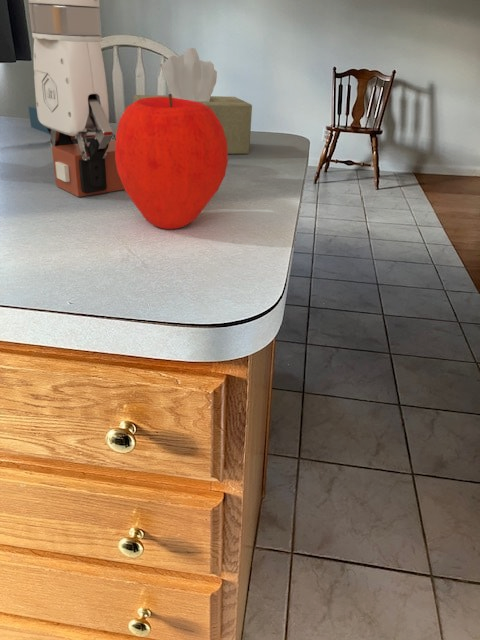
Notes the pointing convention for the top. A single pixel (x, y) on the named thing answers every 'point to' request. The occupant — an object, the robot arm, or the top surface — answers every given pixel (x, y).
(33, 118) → the tissue pack back
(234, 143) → the tissue box
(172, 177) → the apple
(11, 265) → the top surface
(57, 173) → the tissue pack front
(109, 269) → the top surface
